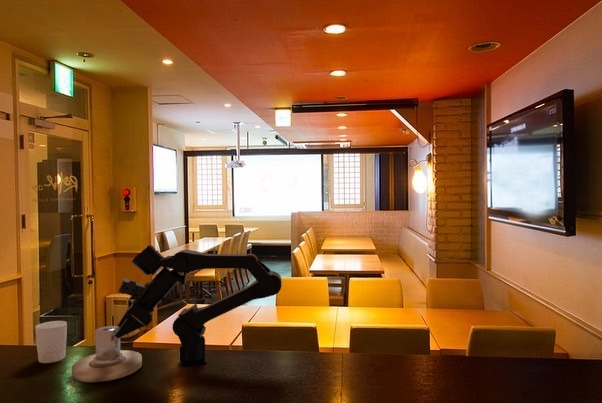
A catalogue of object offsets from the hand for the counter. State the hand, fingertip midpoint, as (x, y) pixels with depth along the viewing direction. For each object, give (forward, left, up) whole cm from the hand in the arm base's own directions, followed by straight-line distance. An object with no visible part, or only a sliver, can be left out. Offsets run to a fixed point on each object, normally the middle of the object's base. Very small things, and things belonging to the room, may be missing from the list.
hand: (117, 332), depth 116 cm
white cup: (+18, -16, -10) cm, 27 cm away
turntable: (+2, 0, -10) cm, 10 cm away
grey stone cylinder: (+2, 0, -7) cm, 8 cm away
